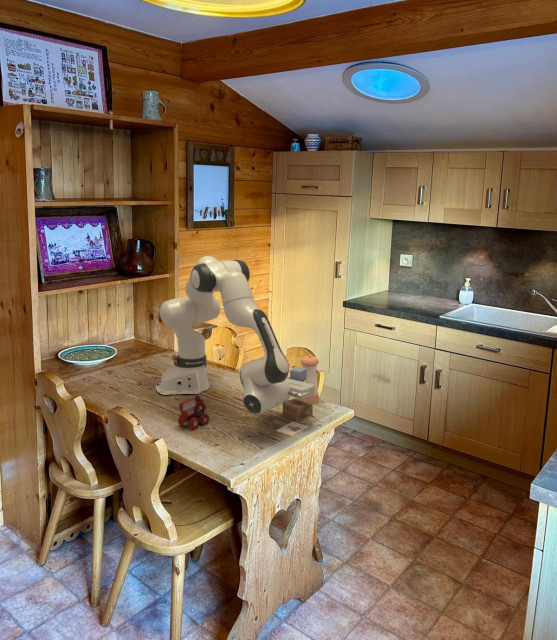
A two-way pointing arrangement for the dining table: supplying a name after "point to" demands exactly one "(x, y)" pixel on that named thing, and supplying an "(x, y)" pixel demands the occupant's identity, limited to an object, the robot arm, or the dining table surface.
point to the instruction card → (292, 428)
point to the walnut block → (297, 408)
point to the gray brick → (298, 374)
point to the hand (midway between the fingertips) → (299, 380)
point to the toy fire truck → (193, 413)
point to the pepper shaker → (311, 375)
